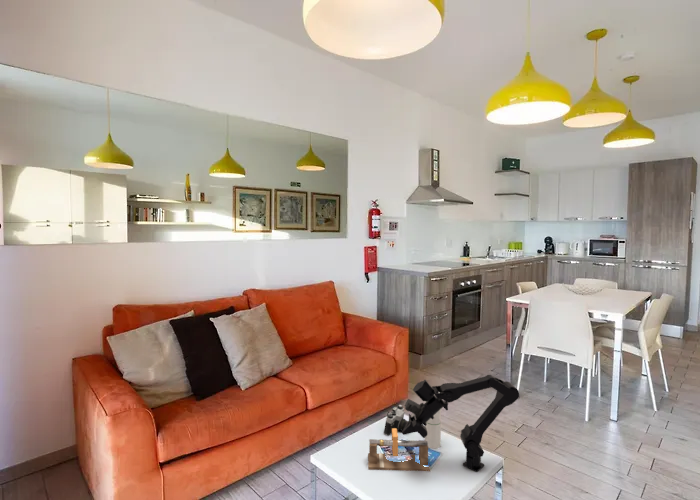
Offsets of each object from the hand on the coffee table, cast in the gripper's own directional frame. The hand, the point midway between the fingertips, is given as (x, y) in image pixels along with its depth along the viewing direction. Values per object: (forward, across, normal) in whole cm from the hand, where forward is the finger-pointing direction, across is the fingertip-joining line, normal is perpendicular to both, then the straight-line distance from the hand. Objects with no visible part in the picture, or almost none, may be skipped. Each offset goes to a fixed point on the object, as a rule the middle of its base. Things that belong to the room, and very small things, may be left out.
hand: (402, 433), depth 160 cm
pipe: (+5, 0, +3) cm, 6 cm away
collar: (+8, 0, +3) cm, 8 cm away
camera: (+8, -27, +10) cm, 30 cm away
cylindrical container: (-2, -16, +20) cm, 25 cm away
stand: (+10, 0, +8) cm, 13 cm away
